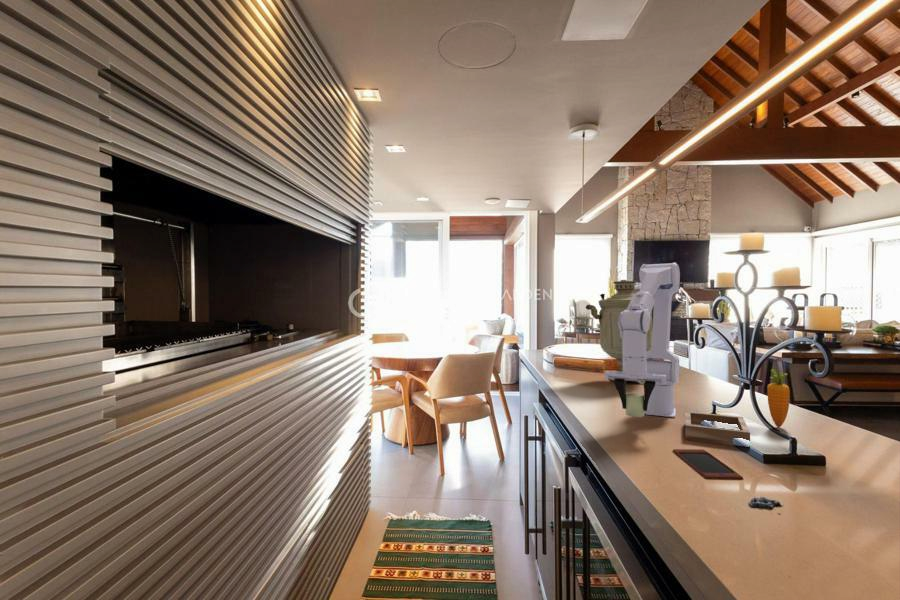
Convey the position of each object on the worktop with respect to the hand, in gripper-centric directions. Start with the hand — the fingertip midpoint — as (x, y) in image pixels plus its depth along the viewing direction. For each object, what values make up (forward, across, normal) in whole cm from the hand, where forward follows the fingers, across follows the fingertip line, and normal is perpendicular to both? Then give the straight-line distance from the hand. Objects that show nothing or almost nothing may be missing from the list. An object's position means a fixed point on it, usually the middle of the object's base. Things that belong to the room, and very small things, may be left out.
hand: (634, 409), depth 113 cm
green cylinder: (+2, 0, 0) cm, 2 cm away
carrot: (+6, +33, +19) cm, 38 cm away
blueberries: (+6, +23, -33) cm, 41 cm away
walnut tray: (+6, +18, +5) cm, 20 cm away
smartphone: (+6, +15, -17) cm, 24 cm away
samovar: (+6, -9, +62) cm, 63 cm away
